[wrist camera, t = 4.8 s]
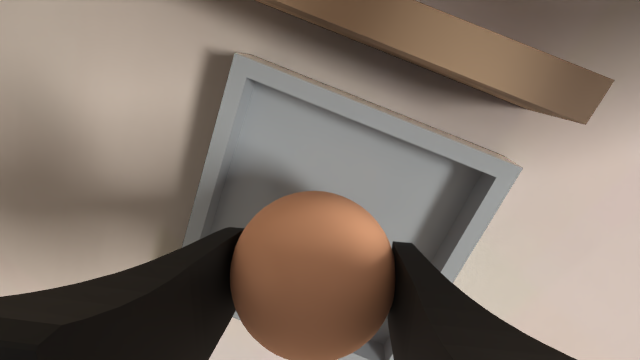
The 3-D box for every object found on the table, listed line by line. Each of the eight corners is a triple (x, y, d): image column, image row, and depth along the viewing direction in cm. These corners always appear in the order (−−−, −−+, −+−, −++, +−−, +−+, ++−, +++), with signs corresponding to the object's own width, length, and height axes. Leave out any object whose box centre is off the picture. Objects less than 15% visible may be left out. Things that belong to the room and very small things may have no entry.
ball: (390, 171, 12) (415, 237, 7) (385, 293, 14) (403, 413, 9) (249, 170, 13) (188, 233, 8) (260, 289, 14) (213, 401, 9)
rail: (546, 76, 12) (614, 80, 9) (527, 109, 12) (585, 124, 9) (171, -74, 12) (97, -127, 9) (164, -37, 12) (91, -74, 9)
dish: (503, 155, 13) (522, 168, 11) (389, 350, 16) (392, 381, 15) (250, 54, 13) (234, 52, 11) (188, 270, 16) (169, 291, 15)
